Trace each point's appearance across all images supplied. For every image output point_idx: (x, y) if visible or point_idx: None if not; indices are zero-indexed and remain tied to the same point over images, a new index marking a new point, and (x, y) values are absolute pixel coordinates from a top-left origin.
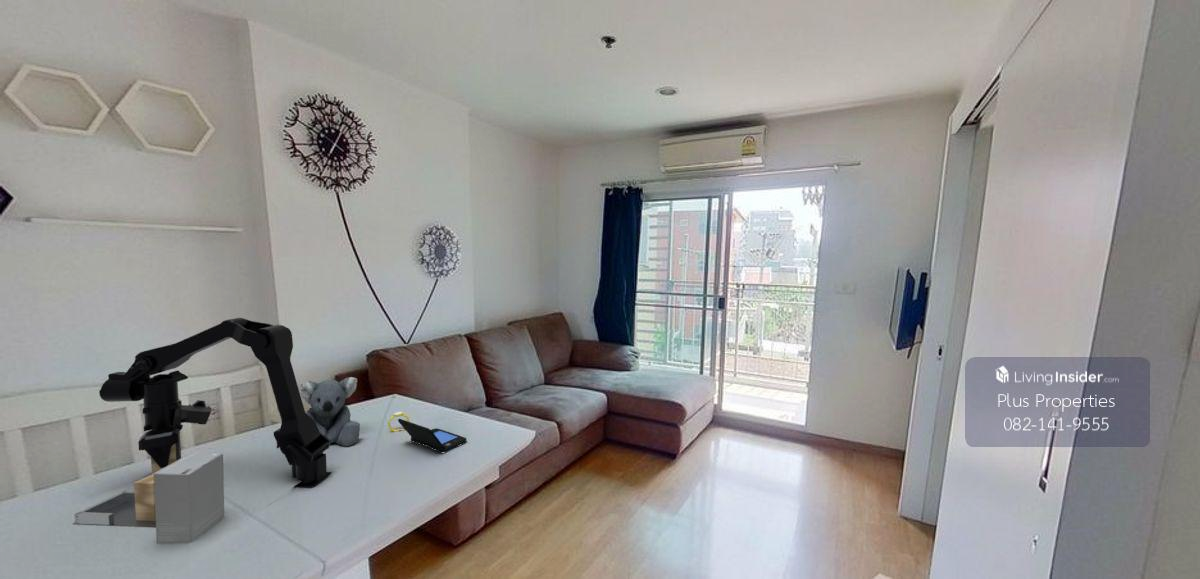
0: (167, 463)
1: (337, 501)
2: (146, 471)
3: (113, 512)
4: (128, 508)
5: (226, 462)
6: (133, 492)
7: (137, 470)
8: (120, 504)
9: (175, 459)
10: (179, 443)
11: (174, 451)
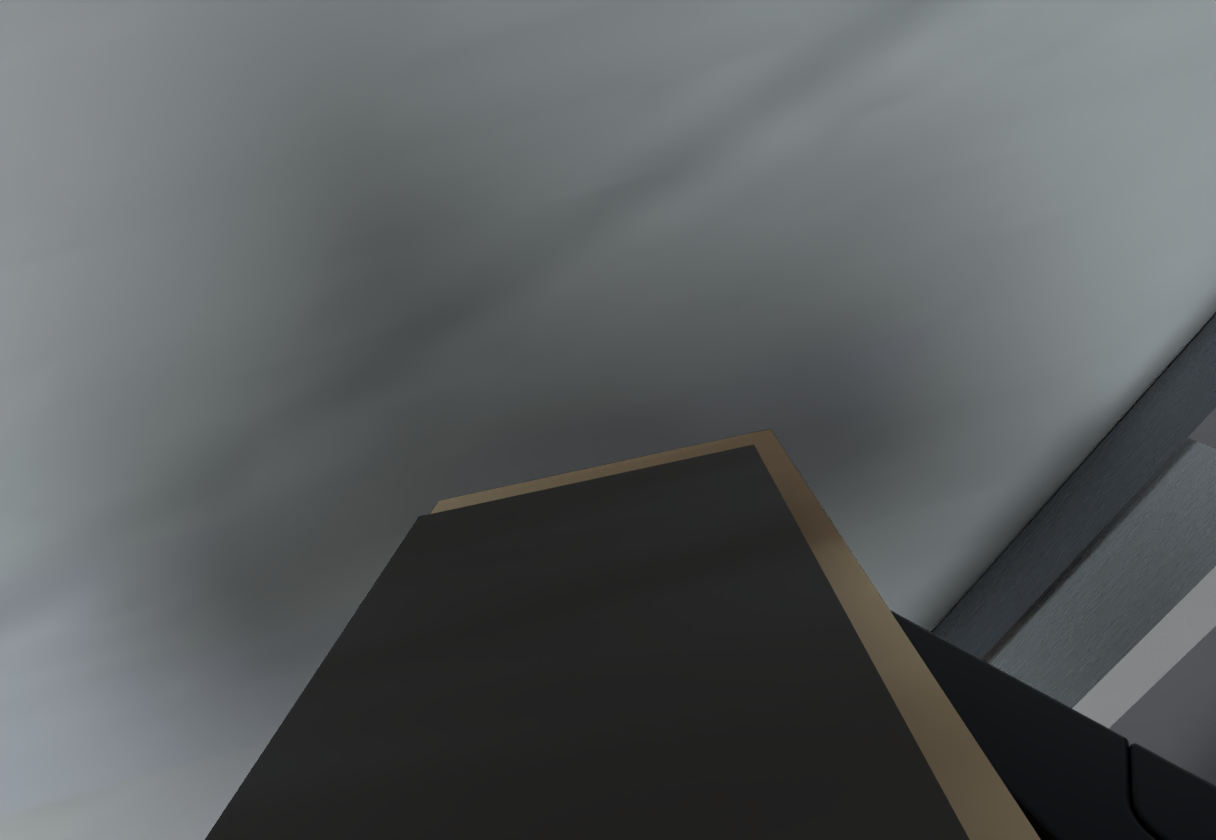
0: (914, 624)
1: None
2: (130, 766)
3: (1206, 717)
4: (1211, 631)
5: (115, 5)
6: (1111, 714)
7: (82, 835)
8: None
9: (834, 544)
10: (617, 775)
11: (922, 692)
